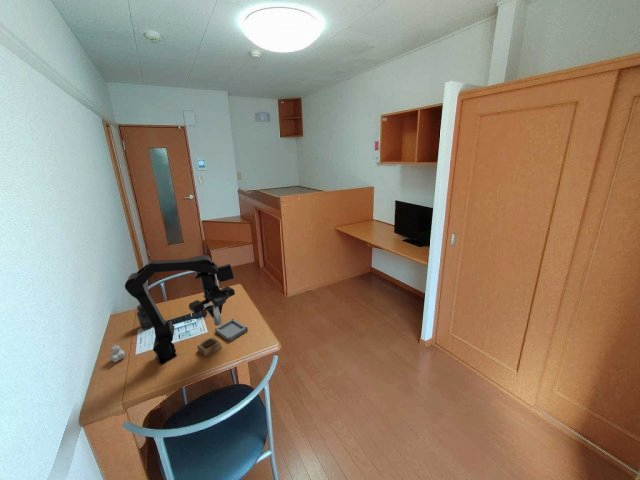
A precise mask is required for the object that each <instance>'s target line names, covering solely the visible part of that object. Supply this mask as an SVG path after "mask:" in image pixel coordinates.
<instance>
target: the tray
mask: <svg viewBox="0 0 640 480" xmlns="http://www.w3.org/2000/svg"><path fill="white" fill-rule="evenodd" d="M214 331H215V333H216V334H217V335H219V336H220V337H222V338H223V339H224V340H226V341H227V342H229V343H230V342H232V341H234V340H235V339H237V338H239V337H240V336H242V335H244V334H245V333H246V332H248V327H247V326H246V325H245V324H243V323H241V322H239V321H238V320H236V319H235V318H232V319H230V320H228V321H227V322H225V323H222V324H220V325H218V326H217V327H216V328H214Z"/></svg>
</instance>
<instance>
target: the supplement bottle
mask: <svg viewBox="0 0 640 480" xmlns="http://www.w3.org/2000/svg"><path fill="white" fill-rule="evenodd" d="M136 310H137V312H136V318H137V320H138V324H139V326H140V329H141V330H149V329H151V328H154V327H153V325H152V323H151V322H150V320H149V318H148V317H147V315H146V313H145V311H144V310H143V308H142V306H141V305H140V304H138V305H137V306H136Z"/></svg>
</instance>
